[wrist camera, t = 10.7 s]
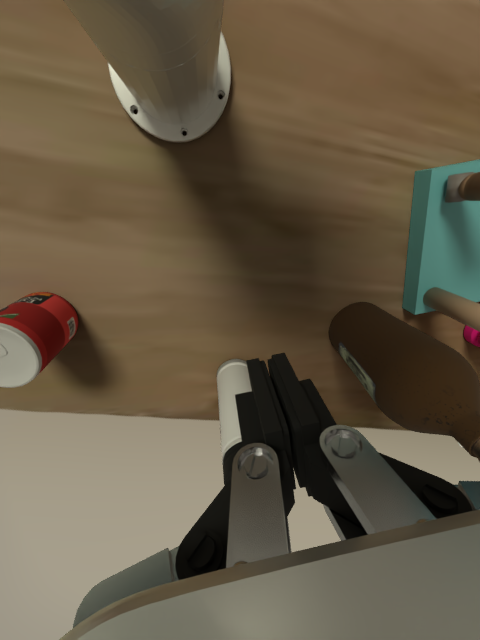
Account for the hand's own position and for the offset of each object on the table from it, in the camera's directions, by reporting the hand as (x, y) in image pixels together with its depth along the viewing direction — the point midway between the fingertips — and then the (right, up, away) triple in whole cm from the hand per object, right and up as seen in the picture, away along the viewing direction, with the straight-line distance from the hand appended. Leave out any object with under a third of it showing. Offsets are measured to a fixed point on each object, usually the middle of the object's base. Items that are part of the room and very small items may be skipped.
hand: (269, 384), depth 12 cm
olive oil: (+18, +2, +34) cm, 38 cm away
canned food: (-28, +3, +27) cm, 39 cm away
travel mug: (-2, -6, +35) cm, 36 cm away
